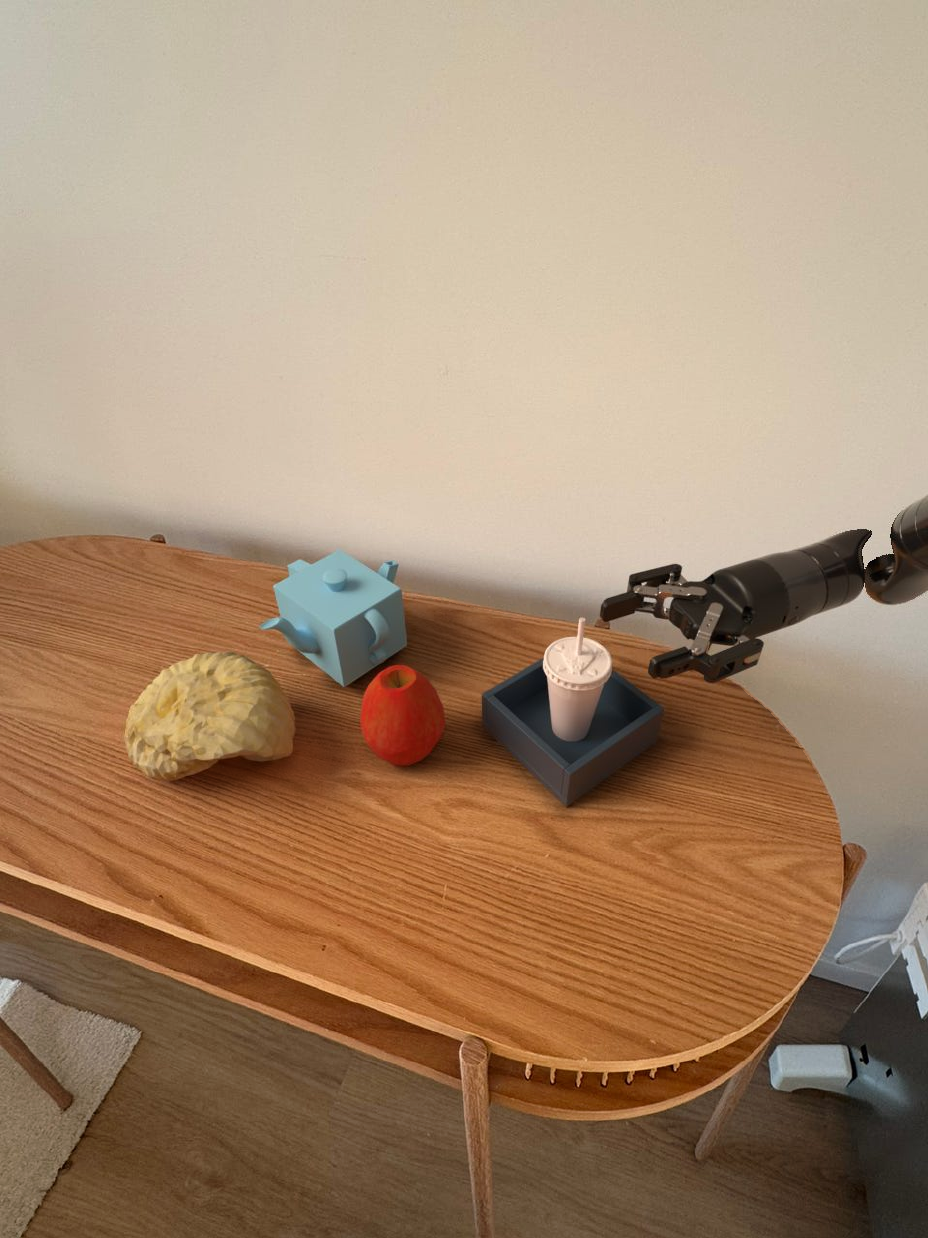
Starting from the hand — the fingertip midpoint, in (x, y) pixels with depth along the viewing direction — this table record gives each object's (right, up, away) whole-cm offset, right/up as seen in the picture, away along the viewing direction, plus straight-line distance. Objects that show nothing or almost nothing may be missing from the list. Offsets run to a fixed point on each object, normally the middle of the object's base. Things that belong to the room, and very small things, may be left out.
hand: (625, 639), depth 69 cm
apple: (-21, -11, +5) cm, 24 cm away
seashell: (-40, -12, +5) cm, 42 cm away
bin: (-5, -10, +6) cm, 12 cm away
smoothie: (-4, -9, +5) cm, 11 cm away
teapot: (-29, -2, +16) cm, 33 cm away
